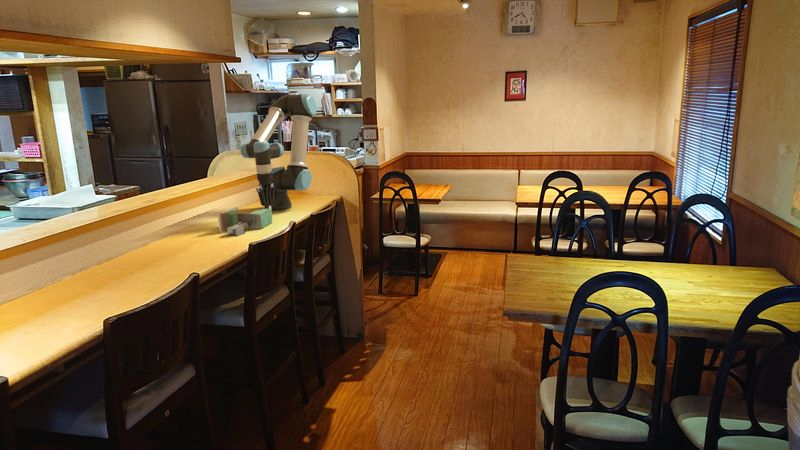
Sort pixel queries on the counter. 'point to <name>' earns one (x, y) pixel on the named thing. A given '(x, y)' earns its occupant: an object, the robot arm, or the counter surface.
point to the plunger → (242, 221)
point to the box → (261, 218)
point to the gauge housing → (229, 222)
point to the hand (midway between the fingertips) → (269, 218)
